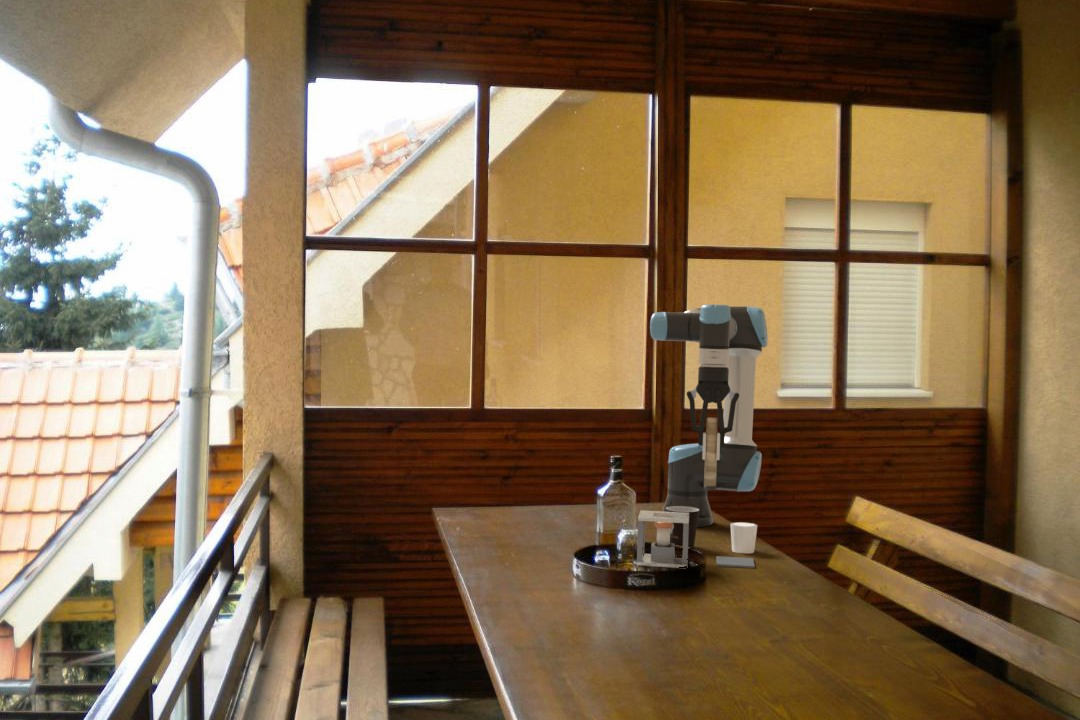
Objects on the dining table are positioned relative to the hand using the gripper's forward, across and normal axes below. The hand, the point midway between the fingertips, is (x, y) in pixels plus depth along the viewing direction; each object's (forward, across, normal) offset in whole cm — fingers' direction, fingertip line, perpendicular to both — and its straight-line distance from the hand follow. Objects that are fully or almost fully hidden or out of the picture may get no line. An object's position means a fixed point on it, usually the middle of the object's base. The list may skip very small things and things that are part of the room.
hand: (710, 458), depth 261 cm
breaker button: (+20, -11, -11) cm, 25 cm away
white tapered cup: (+25, +9, +8) cm, 28 cm away
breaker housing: (+24, -11, -11) cm, 29 cm away
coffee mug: (+25, -7, +10) cm, 28 cm away
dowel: (+8, 0, 0) cm, 8 cm away
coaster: (+24, +6, -7) cm, 26 cm away
